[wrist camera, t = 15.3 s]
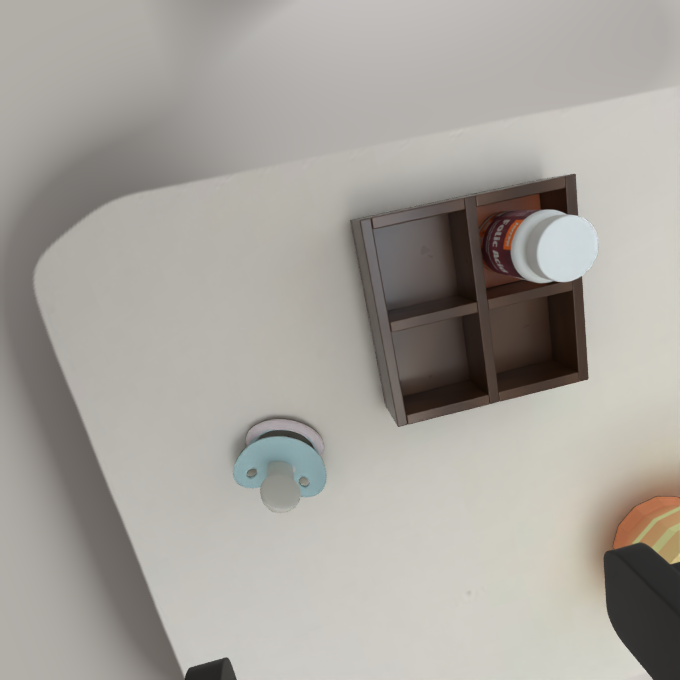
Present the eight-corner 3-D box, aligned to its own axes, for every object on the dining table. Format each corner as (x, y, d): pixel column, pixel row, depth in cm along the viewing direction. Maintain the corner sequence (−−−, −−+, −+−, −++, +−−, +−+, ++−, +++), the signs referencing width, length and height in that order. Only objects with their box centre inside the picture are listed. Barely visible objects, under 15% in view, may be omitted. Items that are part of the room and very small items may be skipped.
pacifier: (247, 408, 38) (230, 475, 39) (242, 441, 32) (223, 519, 33) (334, 425, 39) (316, 490, 40) (346, 460, 33) (324, 535, 34)
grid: (385, 406, 39) (398, 427, 35) (349, 220, 35) (359, 220, 31) (558, 364, 40) (588, 379, 36) (543, 178, 36) (575, 173, 32)
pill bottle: (472, 214, 35) (530, 213, 27) (531, 207, 36) (606, 203, 28) (474, 277, 36) (531, 293, 28) (532, 269, 37) (604, 282, 29)
